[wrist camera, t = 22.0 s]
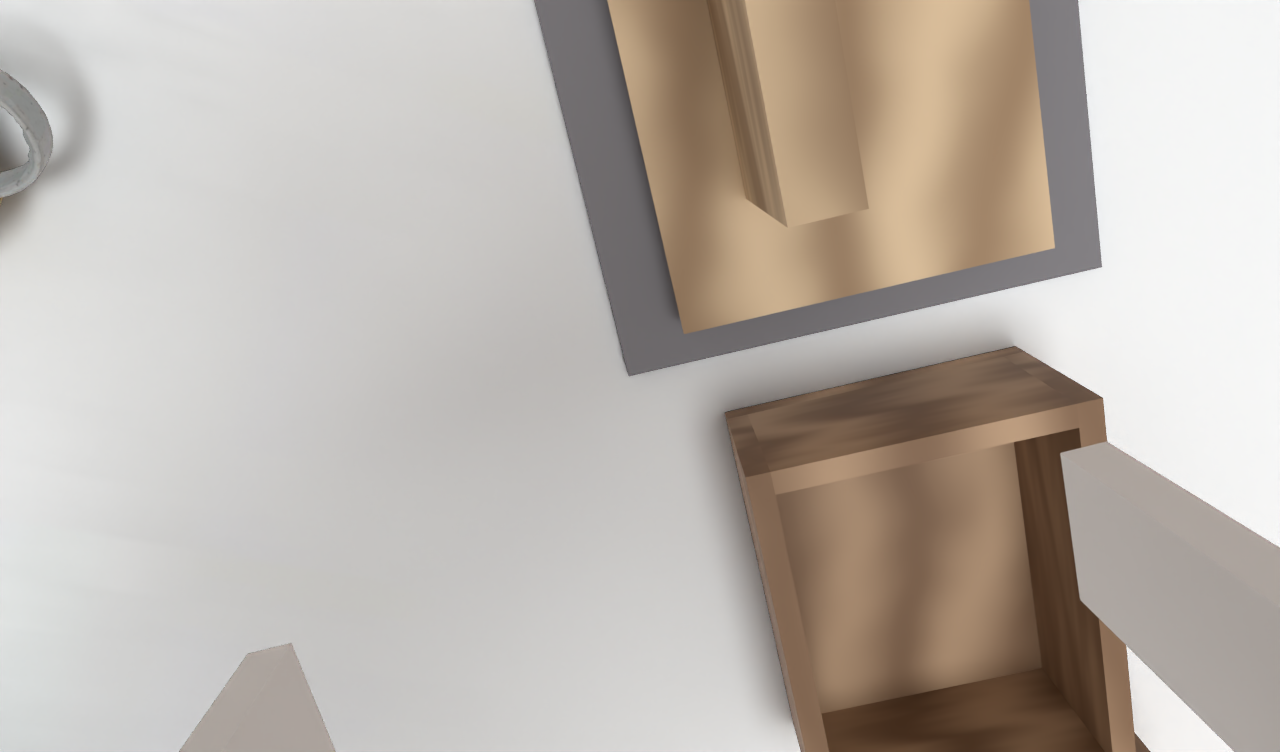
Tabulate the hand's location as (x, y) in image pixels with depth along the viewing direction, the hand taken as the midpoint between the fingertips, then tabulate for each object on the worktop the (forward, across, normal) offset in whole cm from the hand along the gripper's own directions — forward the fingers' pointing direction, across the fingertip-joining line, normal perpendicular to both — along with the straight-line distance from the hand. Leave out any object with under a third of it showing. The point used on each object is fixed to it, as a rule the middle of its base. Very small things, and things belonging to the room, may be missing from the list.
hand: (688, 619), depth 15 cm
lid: (+26, +10, +9) cm, 29 cm away
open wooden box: (+27, +10, -15) cm, 32 cm away
